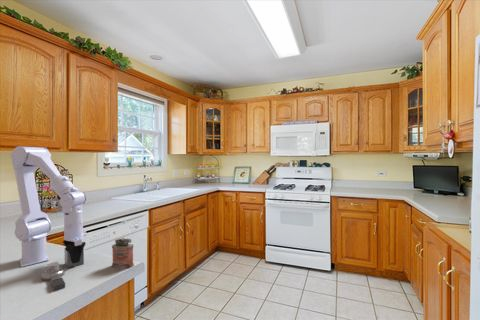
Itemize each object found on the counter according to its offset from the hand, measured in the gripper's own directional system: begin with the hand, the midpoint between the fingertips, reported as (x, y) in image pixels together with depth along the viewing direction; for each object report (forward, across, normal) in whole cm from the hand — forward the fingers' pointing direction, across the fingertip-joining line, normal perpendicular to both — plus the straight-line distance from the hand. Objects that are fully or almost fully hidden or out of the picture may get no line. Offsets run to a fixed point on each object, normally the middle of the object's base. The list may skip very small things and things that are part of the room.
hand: (74, 260), depth 89 cm
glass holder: (+2, +121, -14) cm, 122 cm away
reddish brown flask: (+2, -15, -12) cm, 19 cm away
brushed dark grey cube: (+1, 0, 0) cm, 1 cm away
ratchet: (+2, -10, +7) cm, 13 cm away
